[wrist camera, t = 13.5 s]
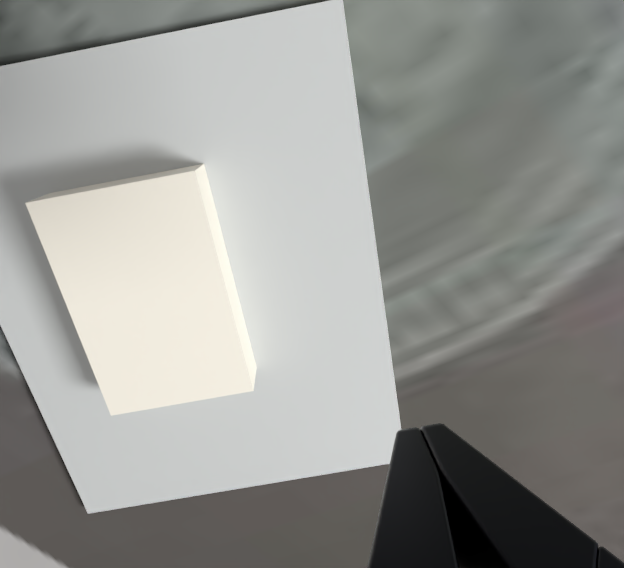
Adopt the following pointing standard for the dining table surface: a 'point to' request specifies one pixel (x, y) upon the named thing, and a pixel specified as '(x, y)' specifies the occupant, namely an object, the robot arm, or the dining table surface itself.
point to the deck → (149, 288)
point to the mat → (238, 241)
